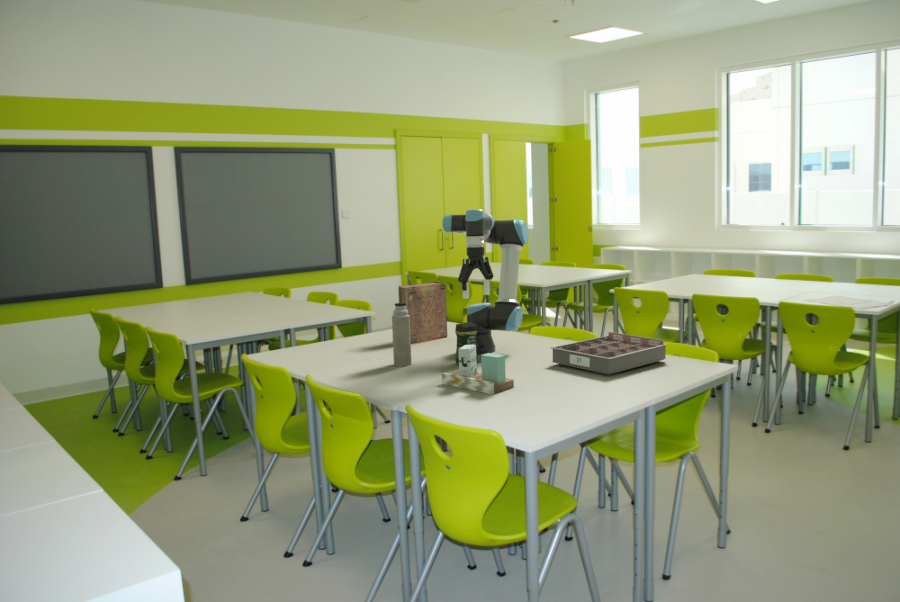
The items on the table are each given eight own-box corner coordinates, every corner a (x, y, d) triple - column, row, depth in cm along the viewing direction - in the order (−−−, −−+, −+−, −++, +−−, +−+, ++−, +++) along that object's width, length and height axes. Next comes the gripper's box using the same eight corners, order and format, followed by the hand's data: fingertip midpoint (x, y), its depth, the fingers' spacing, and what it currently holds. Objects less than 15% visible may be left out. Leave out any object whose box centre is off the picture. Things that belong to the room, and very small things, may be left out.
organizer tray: (550, 365, 289) (549, 343, 288) (608, 351, 313) (608, 331, 312) (609, 378, 264) (609, 354, 263) (667, 362, 288) (668, 340, 287)
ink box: (465, 373, 267) (464, 344, 265) (477, 373, 265) (476, 344, 264) (458, 378, 259) (457, 348, 257) (470, 378, 257) (469, 348, 256)
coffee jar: (462, 366, 292) (461, 324, 289) (453, 363, 298) (452, 322, 296) (480, 363, 297) (479, 322, 294) (470, 360, 303) (469, 320, 301)
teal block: (481, 380, 254) (481, 354, 253) (489, 378, 258) (488, 352, 256) (498, 383, 249) (497, 357, 248) (505, 381, 252) (504, 355, 251)
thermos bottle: (399, 362, 304) (396, 301, 300) (414, 363, 301) (412, 302, 297) (390, 365, 297) (388, 304, 293) (406, 367, 294) (403, 304, 290)
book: (410, 344, 346) (408, 287, 342) (400, 341, 353) (397, 286, 349) (447, 337, 362) (445, 282, 358) (436, 335, 369) (435, 281, 365)
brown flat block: (441, 383, 263) (441, 373, 262) (463, 377, 272) (463, 366, 272) (492, 394, 245) (491, 383, 244) (513, 387, 254) (513, 376, 254)
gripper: (462, 248, 267) (463, 300, 269) (501, 244, 285) (502, 293, 287) (448, 248, 272) (450, 299, 274) (487, 244, 290) (488, 292, 292)
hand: (476, 296), depth 281 cm, fingers open, 13 cm apart
